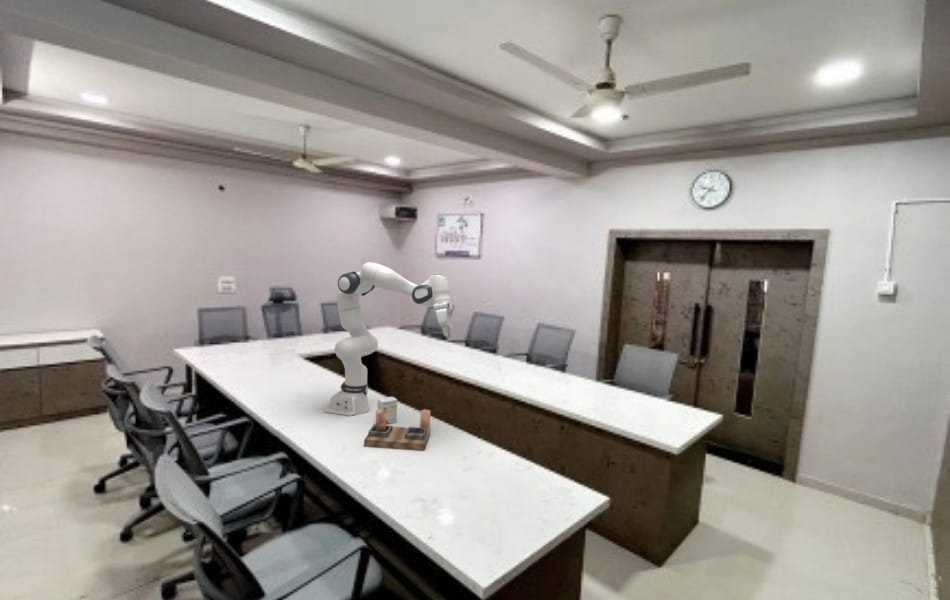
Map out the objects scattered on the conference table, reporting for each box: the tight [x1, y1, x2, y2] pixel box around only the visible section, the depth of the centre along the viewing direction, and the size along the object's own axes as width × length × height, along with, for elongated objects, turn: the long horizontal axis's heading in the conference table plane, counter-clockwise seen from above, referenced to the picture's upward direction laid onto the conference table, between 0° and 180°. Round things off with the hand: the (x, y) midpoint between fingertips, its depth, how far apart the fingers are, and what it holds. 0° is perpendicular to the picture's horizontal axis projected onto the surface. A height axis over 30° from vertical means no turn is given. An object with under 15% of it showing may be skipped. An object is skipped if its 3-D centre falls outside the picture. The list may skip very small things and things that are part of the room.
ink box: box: [376, 396, 398, 425], centre depth 220 cm, size 9×5×12 cm, turn 127°
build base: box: [363, 409, 431, 452], centre depth 200 cm, size 26×16×13 cm, turn 87°
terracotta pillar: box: [419, 409, 431, 430], centre depth 212 cm, size 5×5×10 cm
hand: (447, 337), depth 207 cm, fingers open, 8 cm apart
